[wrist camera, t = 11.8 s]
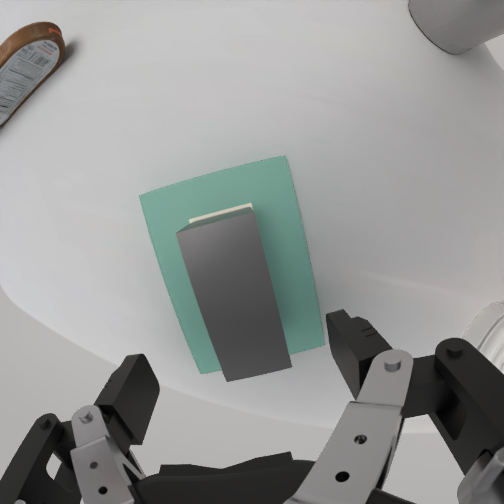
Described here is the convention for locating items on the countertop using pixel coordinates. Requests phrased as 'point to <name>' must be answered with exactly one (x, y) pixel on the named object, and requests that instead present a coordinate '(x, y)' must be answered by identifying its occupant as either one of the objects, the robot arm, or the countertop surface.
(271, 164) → the header board
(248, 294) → the block
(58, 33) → the tin
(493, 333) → the honey pot
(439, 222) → the countertop surface
